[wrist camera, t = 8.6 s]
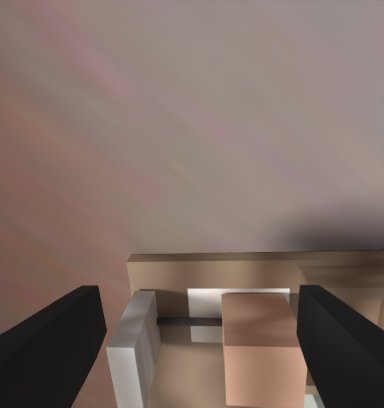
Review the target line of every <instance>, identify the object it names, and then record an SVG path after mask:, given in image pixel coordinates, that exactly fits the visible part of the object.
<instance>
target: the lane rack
mask: <svg viewBox="0 0 384 408" xmlns="http://www.w3.org/2000/svg"><path fill="white" fill-rule="evenodd" d="M126 263H127V270H128V276H129V283H130V289H131V296H132V295H133V293H134V291H155V295H156V303H157V311H158V317H210V318H222V297H221V294H284V295H285V297H286V299H287V301H288V303H289V306H290V308H291V310H292V312H293V314H294V316H295V318H296V321H297V316H298V301H299V287H300V285H320V286H321V287H323V288H324V289H326V290H327V291H329V292H330V293H332V294H333V295H334V296H336V297H337V298H339V299H340V300H341V301H343V302H344V303H346V304H347V305H349V306H350V307H351V308H353V309H354V310H356V311H357V312H358V313H360V314H361V315H363V316H364V317H366V318H367V319H368V320H370V321H371V322H373V323H374V324H376V325H377V326H379V327H380V328H381V329H383V330H384V250H375V251H316V252H257V253H198V254H139V255H131V256H130V258H129V259H128V261H127V262H126ZM159 328H160V336H161V348H160V352H159V356H158V360H157V364H156V368H155V372H154V376H153V380H152V384H151V388H150V392H149V396H148V407H149V408H274V407H252V406H231V405H226V389H225V370H224V351H223V327H220V326H159ZM305 394H310V395H319V393H318V391H317V389H316V386H315V384H314V382H313V380H312V377H311V375H310V373H309V370H308V368H307V377H306V388H305Z"/></svg>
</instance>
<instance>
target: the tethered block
mask: <svg viewBox="0 0 384 408" xmlns="http://www.w3.org/2000/svg"><path fill="white" fill-rule="evenodd" d="M221 297H222V318H210V317H158V311H157V303H156V295H155V291H134V293H133V295H132V297H131V299H130V301H129V303H128V305H127V307H126V309H125V311H124V313H123V315H122V317H121V319H120V321H119V323H118V325H117V326H116V328H115V330H114V332H113V334H112V336H111V338H110V340H109V342H108V344H107V346H106V351H107V356H108V361H109V366H110V370H111V375H112V380H113V385H114V390H115V395H116V400H117V405H118V408H146V404H147V400H148V396H149V392H150V388H151V384H152V380H153V376H154V372H155V368H156V364H157V360H158V356H159V352H160V348H161V336H160V328H159V326H220V327H223V351H224V370H225V389H226V405H231V406H252V407H274V408H304V400H305V388H306V377H307V366H306V363H305V360H304V357H303V354H302V351H301V348H300V344H299V341H298V338H297V335H296V330H297V321H296V318H295V316H294V314H293V312H292V310H291V308H290V306H289V303H288V301H287V299H286V297H285V295H284V294H221Z"/></svg>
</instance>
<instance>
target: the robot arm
mask: <svg viewBox="0 0 384 408" xmlns="http://www.w3.org/2000/svg"><path fill="white" fill-rule="evenodd" d="M106 332H107V329H106V324H105V319H104V313H103V308H102V303H101V298H100V293H99V288H98V286H81V287H79V288H77V289H75V290H73V291H72V292H70V293H68V294H66V295H65V296H63V297H61V298H60V299H58V300H57V301H55V302H53V303H52V304H50V305H49V306H47V307H45V308H44V309H42V310H40V311H39V312H37V313H36V314H34V315H32V316H31V317H29V318H27V319H26V320H24V321H23V322H21V323H19V324H18V325H16V326H14V327H13V328H11V329H9V330H7V331H6V332H4V333H2V334H1V335H0V408H71V406H72V404H73V402H74V401H75V399H76V397H77V395H78V393H79V391H80V389H81V387H82V385H83V384H84V382H85V380H86V378H87V376H88V374H89V372H90V370H91V368H92V366H93V364H94V362H95V360H96V358H97V355H98V353H99V350H100V348H101V345H102V343H103V340H104V337H105V335H106ZM296 335H297V338H298V341H299V344H300V348H301V351H302V354H303V357H304V360H305V363H306V366H307V368H308V370H309V373H310V375H311V377H312V380H313V382H314V384H315V386H316V389H317V391H318V393H319V395H320V398H321V400H322V402H323V404H324V407H325V408H384V330H383V329H381V328H380V327H379V326H377V325H376V324H374V323H373V322H371V321H370V320H368V319H367V318H366V317H364V316H363V315H361V314H360V313H358V312H357V311H356V310H354V309H353V308H351V307H350V306H349V305H347V304H346V303H344V302H343V301H341V300H340V299H339V298H337V297H336V296H334V295H333V294H332V293H330V292H329V291H327V290H326V289H324V288H323V287H321V286H320V285H300V287H299V301H298V316H297V330H296Z"/></svg>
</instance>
